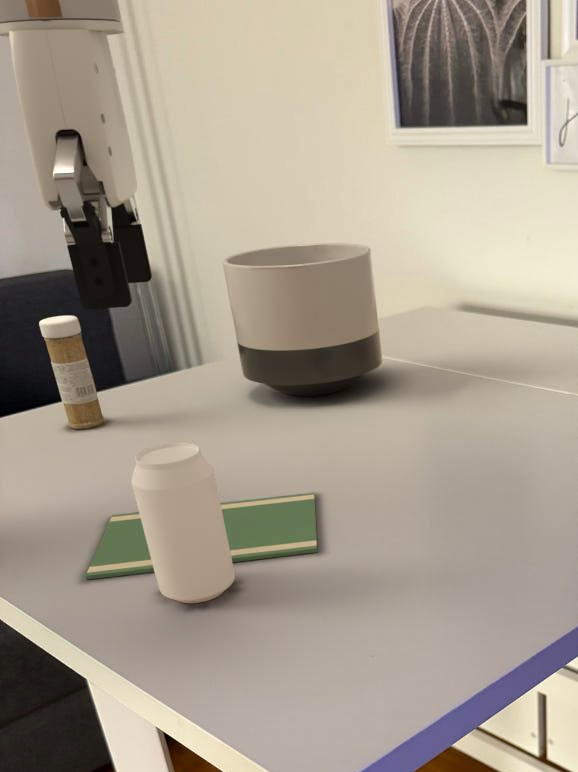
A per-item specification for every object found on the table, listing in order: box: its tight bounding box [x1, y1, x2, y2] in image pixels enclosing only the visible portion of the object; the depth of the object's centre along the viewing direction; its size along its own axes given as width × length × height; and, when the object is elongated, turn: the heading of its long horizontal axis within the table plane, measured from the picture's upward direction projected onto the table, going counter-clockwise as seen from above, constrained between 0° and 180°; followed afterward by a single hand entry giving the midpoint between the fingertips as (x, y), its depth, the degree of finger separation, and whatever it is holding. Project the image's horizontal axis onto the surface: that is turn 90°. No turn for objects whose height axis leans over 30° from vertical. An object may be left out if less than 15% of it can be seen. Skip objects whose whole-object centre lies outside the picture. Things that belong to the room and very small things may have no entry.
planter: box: [222, 242, 383, 397], centre depth 127 cm, size 19×19×18 cm
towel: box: [85, 492, 319, 580], centre depth 88 cm, size 20×14×1 cm
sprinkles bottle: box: [38, 315, 105, 430], centre depth 118 cm, size 5×5×14 cm
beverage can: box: [131, 442, 236, 604], centre depth 75 cm, size 6×6×12 cm
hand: (120, 294), depth 67 cm, fingers open, 9 cm apart
